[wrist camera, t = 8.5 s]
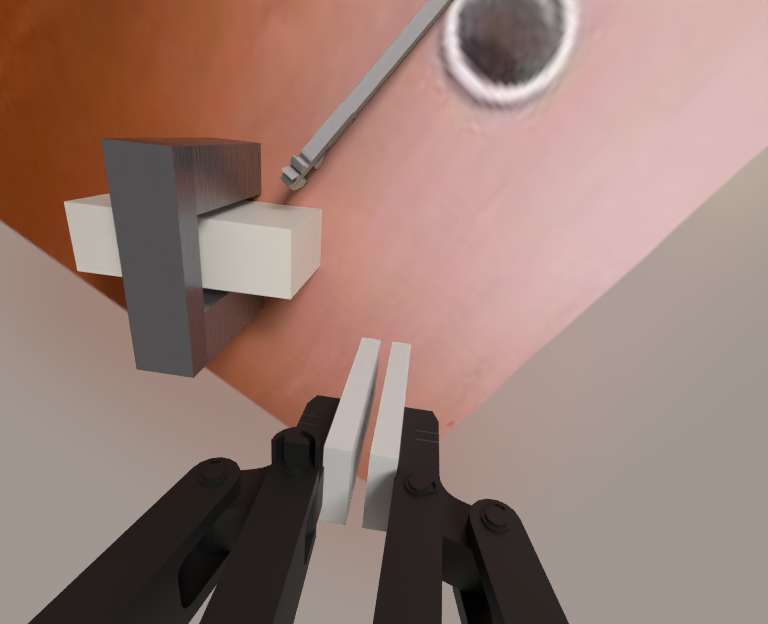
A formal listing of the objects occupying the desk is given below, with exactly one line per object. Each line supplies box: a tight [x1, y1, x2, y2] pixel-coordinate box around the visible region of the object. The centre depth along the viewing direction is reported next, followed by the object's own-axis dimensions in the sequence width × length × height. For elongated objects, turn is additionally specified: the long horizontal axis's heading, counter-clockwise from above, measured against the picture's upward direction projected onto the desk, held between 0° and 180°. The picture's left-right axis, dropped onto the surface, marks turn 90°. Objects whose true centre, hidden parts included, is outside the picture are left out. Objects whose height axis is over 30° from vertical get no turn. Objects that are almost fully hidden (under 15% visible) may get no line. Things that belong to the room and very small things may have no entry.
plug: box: [64, 194, 322, 299], centre depth 33 cm, size 5×18×8 cm, turn 84°
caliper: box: [280, 0, 453, 190], centre depth 29 cm, size 20×1×6 cm, turn 138°
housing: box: [101, 138, 263, 378], centre depth 31 cm, size 14×4×12 cm, turn 174°
